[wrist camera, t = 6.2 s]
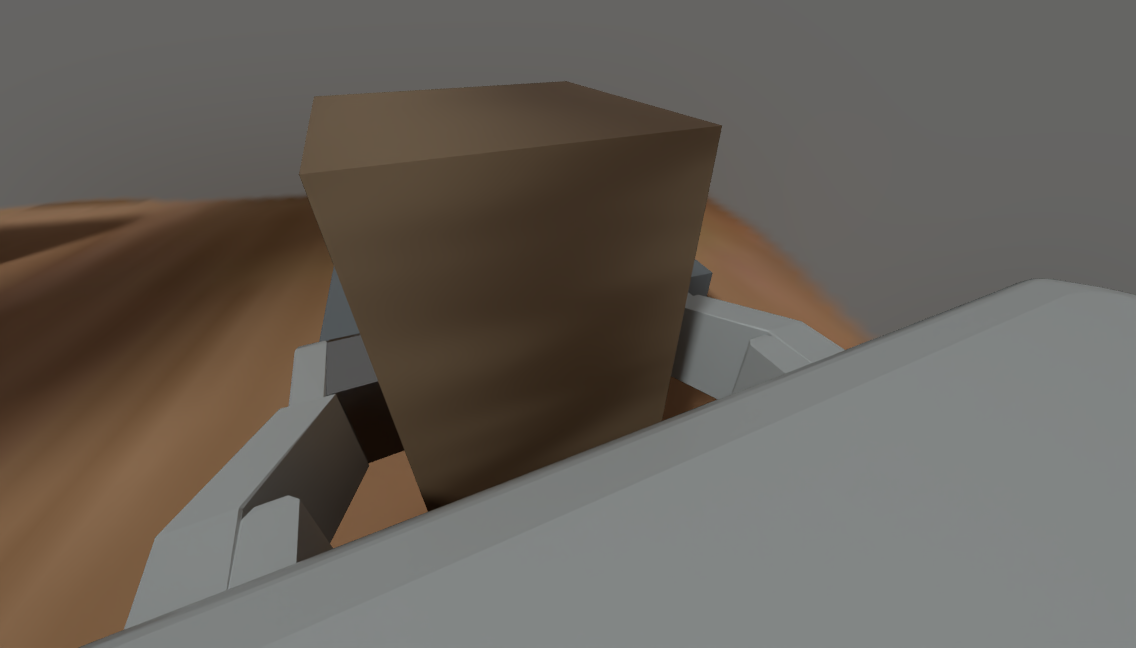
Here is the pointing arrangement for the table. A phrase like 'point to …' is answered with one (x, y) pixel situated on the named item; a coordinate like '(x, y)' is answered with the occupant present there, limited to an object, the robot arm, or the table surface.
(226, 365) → the table surface
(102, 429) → the table surface
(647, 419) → the walnut block
